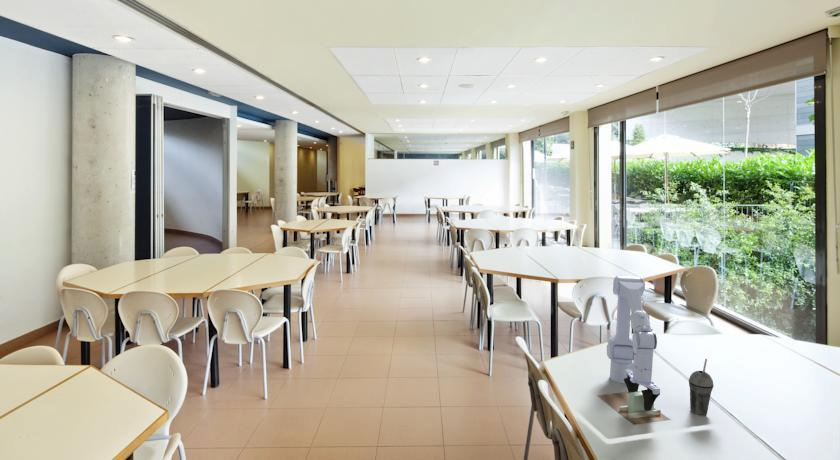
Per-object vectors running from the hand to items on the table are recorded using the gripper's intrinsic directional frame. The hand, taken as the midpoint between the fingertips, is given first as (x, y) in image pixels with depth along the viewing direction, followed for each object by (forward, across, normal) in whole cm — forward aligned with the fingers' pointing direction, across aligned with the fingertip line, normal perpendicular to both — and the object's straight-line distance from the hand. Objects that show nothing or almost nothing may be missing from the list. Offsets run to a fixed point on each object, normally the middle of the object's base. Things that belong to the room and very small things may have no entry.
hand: (640, 404), depth 154 cm
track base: (+4, -4, 0) cm, 6 cm away
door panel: (+3, 0, 0) cm, 3 cm away
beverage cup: (+4, +4, +20) cm, 21 cm away
